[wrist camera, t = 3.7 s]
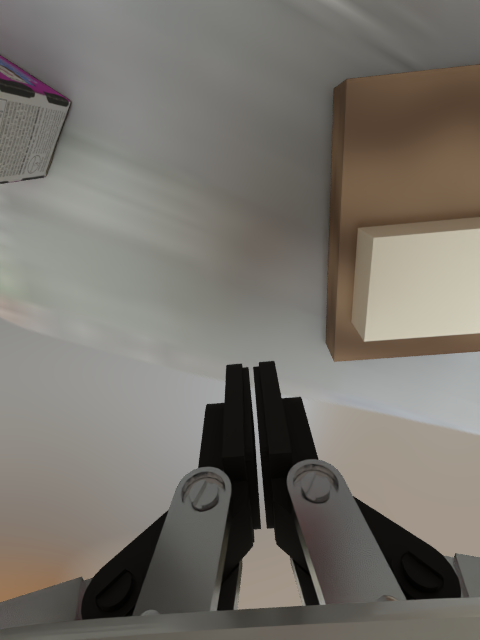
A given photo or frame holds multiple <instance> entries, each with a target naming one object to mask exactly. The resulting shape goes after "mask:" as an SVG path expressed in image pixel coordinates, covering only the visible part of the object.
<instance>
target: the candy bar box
mask: <svg viewBox="0 0 480 640" xmlns="http://www.w3.org/2000/svg"><path fill="white" fill-rule="evenodd" d="M69 106H70V100H69V99H67V98H66V97H64V96H63V95H61V94H59V93H58V92H56V91H55V90H53V89H52V88H50V87H49V86H47V85H46V84H44V83H43V82H41V81H39V80H38V79H36V78H35V77H33V76H32V75H30V74H29V73H27V72H25V71H24V70H22V69H21V68H19V67H18V66H16V65H15V64H13V63H12V62H10V61H8V60H7V59H5V58H4V57H2V56H1V55H0V184H3V183H10V182H17V181H23V180H30V179H37V178H44V177H45V176H46V174H47V172H48V169H49V166H50V164H51V161H52V158H53V153H54V149H55V145H56V142H57V140H58V137H59V134H60V132H61V129H62V126H63V124H64V121H65V118H66V115H67V111H68V109H69Z"/></svg>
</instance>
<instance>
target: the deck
mask: <svg viewBox="0 0 480 640" xmlns="http://www.w3.org/2000/svg"><path fill="white" fill-rule="evenodd" d="M474 217H480V64H478V65H469V66H460V67H451V68H442V69H433V70H424V71H415V72H406V73H397V74H388V75H378V76H369V77H360V78H351V79H346V80H345V81H343V82H342V83H341V84H339V85H338V86H337V87H335V88H334V97H333V129H332V161H331V193H330V225H329V257H328V289H327V322H326V345H327V347H328V349H329V351H330V354H331V356H332V358H333V360H334V362H337V361H351V360H365V359H379V358H393V357H407V356H421V355H436V354H450V353H464V352H478V351H480V333H475V334H462V335H448V336H434V337H421V338H407V339H393V340H380V341H366V342H364V341H363V339H362V338H361V336H360V334H359V333H358V331H357V330H356V328H355V327H354V325H353V324H352V322H351V320H352V306H353V292H354V277H355V263H356V248H357V234H358V228H362V227H373V226H384V225H395V224H407V223H418V222H429V221H440V220H451V219H462V218H474Z"/></svg>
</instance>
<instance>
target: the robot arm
mask: <svg viewBox="0 0 480 640" xmlns="http://www.w3.org/2000/svg"><path fill="white" fill-rule="evenodd" d="M253 370H254V382H255V394H256V407H257V419H258V431H259V443H260V455H261V466H262V478H263V490H264V501H265V511H266V523H267V528H274V530H275V540H276V544H277V545H278V546H279V547H280V548H281V549H282V550H283V551H284V552H286V553H287V554H288V555H289V556H290V561H291V566H292V570H293V573H294V577H295V580H296V584H297V588H298V591H299V595H300V598H301V602H302V606H293V607H277V608H259V609H242V610H237V608H238V600H239V591H240V583H241V574H242V558H243V557H244V556H245V555H246V554H247V553H248V551H249V550H250V549H251V548H252V546H253V542H254V529H261V523H260V508H259V493H258V478H257V463H256V449H255V434H254V422H253V411H252V402H251V401H252V400H251V390H250V379H249V369H248V367H246V368H242V364H232V365H227V366H226V386H225V403H217V404H207V405H206V410H205V418H204V426H203V434H202V442H201V450H200V458H199V466H198V469H195V470H193V471H191V472H190V473H188V474H187V475H185V476H184V477H183V479H182V480H181V481H180V483H179V484H178V486H177V488H176V491H175V494H174V496H173V499H172V502H171V505H170V508H169V510H168V511H167V512H166V513H164V514H163V515H162V516H161V517H160V518H159V519H158V520H156V521H155V522H154V523H153V524H152V525H151V526H149V527H148V528H147V529H146V530H145V531H144V532H143V533H141V534H140V535H139V536H138V537H137V538H136V539H135V540H133V541H132V542H131V543H130V544H129V545H128V546H126V547H125V548H124V549H123V550H122V551H121V552H120V553H118V554H117V555H116V556H115V557H114V558H113V559H112V560H110V561H109V562H108V563H107V564H106V565H105V566H104V567H102V568H101V569H100V571H99V572H98V573H97V574H96V575H95V576H94V577H93V578H91V579H88V580H83V578H82V577H79V578H76V579H73V580H70V581H66V582H63V583H60V584H57V585H54V586H51V587H48V588H45V589H41V590H38V591H35V592H32V593H29V594H26V595H22V596H19V597H16V598H13V599H10V600H7V601H3V602H0V640H480V557H474V556H469V555H463V554H457V553H455V556H454V558H453V557H448V556H443V555H442V554H441V553H439V552H438V551H437V550H436V549H434V548H433V547H432V546H430V545H429V544H427V543H426V542H424V541H422V540H421V539H419V538H417V537H416V536H414V535H413V534H411V533H410V532H408V531H407V530H405V529H404V528H402V527H401V526H399V525H397V524H396V523H394V522H393V521H391V520H389V519H388V518H386V517H385V516H383V515H382V514H380V513H379V512H377V511H376V510H374V509H372V508H371V507H369V506H368V505H366V504H365V503H363V502H361V501H360V500H358V499H357V498H355V497H354V496H352V494H351V492H350V490H349V488H348V486H347V484H346V482H345V480H344V478H343V476H342V475H341V474H340V472H339V471H338V470H337V469H336V468H335V467H334V466H332V465H331V464H329V463H327V462H324V461H322V460H318V456H317V453H316V449H315V445H314V442H313V438H312V435H311V431H310V427H309V424H308V420H307V416H306V413H305V409H304V406H303V402H302V399H301V397H294V398H281V393H280V388H279V383H278V377H277V372H276V367H275V362H274V361H268V362H259V366H258V367H253Z"/></svg>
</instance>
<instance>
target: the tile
mask: <svg viewBox="0 0 480 640" xmlns="http://www.w3.org/2000/svg"><path fill="white" fill-rule="evenodd" d="M351 322H352V324H353V325H354V327H355V328H356V330H357V331H358V333H359V334H360V336H361V338H362V339H363V341H364V342H366V341H380V340H393V339H407V338H421V337H434V336H448V335H462V334H475V333H480V217H474V218H462V219H451V220H440V221H429V222H418V223H407V224H395V225H384V226H373V227H362V228H358V234H357V248H356V263H355V277H354V292H353V306H352V320H351Z"/></svg>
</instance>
